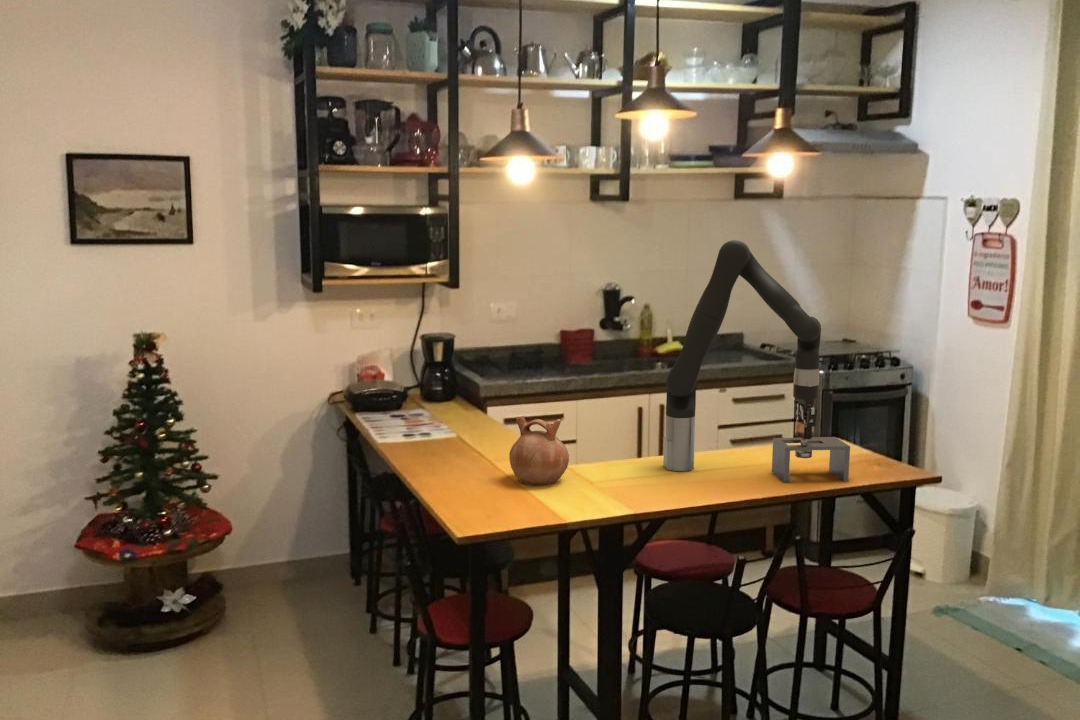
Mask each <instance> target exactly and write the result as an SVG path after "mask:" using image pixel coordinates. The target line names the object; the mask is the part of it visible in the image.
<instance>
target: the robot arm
mask: <svg viewBox="0 0 1080 720" xmlns="http://www.w3.org/2000/svg"><path fill="white" fill-rule="evenodd" d="M714 264H715V265H714V266H713V267H714V268H713V270H712V274H711V276H710V279H709V281H708V283H707V285H706V287H705V289H704V290H703V292H702V294H701V297H700V298H699V301H698V303H697V304H696V307H695V308H694V311H693V314H692V316H691V318H690V320H689V324H688V326H687V330H686V334H685V336H684V337H685V338H684V341H683V345H682V348H681V351H680V353H679V355H678V357H677V359H676V361H675V363H674V365H673V366H672V367H671V368H670V369H669V370H668V372H667V375H666V379H665V380H666V381H665V384H666V401H665V436H664V437H663V467H664V469H666V471H674V472H689V471H692V470H694V469H695V441H696V440H695V439H696V437H695V436H696V431H695V429H696V404H697V380H698V376H699V373H700V370H701V367H702V364H703V361H704V359H705V357H706V355H707V353H708V352H709V349H710V348H711V346H712V345H713V342H714V341H715V339H716V337H717V335H718V333H719V331H720V328H721V326H722V324H723V322H724V319H725V316H726V313H727V309H728V306H729V303H730V297H731V294H732V291H733V288H734V285H735V284H736V281H737V280H738V279H739V276H740V277H741V278H742V279H744V280H745V281H746V282H747V283H748V284H749V285H750V286H751V287H752V288H753V289H754V291H755V292H756V293H757V294H758V296H759V297H760V298H761V299H762V300H763V302H764V303H766V305H767V306H768V307H769V308H770V309H771V310H772V311H773V313H775V314H776V315H777V316H778V317H779V318H780V319H781V320H782V321H784V323H785V324H786V325H787V327H788V328H789V329H790V331H791V332H792V333H793V334H794V335H795V336H796V337H797V340H796V341H797V344H796V345H797V347H796V351H795V358H794V362H795V363H794V373H793V389H792V396H793V398H795V399H794V401H793V402H794V403H793V404H794V405H793V406H794V408H793V409H794V419H795V420H796V421H795V422H797V421H804V439H811V438H812V427H814V428H815V427H816V425H817V424H816V423H817V413H818V408H817V407H815V406H814V405H815V404H814V402H813V401H814V400H818V399H819V397H820V395H819V394H820V371H819V370H820V368H819V367H820V345H821V336H822V335H821V334H822V325H821V323H820V321H819V320H818V319H817V318H816V317H814V316H810V315H809V314H808V313H807V312H806V311H805V310H804V309H803V308H802V307H801V304H800V303H799V301H797V299H796V298H794V297H793V296H792V294H790V293H789V292H788V291H787V290H786V289H785V288H784V287H783V285H781V284H780V283H779V282H778V281H777V280H775V279H774V277H772V276H771V275H770V274H769V273H768V272H767V271H766V270H765V269H764V267H763V266H762V265H761V264H760V263H759V262H758V260H757V259H756V257H755V256H754V254H753V253H752V252H751V250H750V248H749V247H748V245H747V244H746V243H745V242H743V241H740V240H735V239H733V240H728V241H727V242H725V243H724V244H722V245H721V247H720V248H719V250H718V253H717V257H716V261H715V263H714ZM809 422H810V423H809Z"/></svg>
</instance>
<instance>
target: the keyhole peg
mask: <svg viewBox="0 0 1080 720" xmlns="http://www.w3.org/2000/svg"><path fill="white" fill-rule="evenodd" d="M809 423H810V422H809ZM814 435H815V427H812V437H815V436H814ZM794 436H795V437H796V438H801V443H800V445H807V439H804V421H795V422H794ZM794 457H796V458H799V459H811V458H812V457H813V450H802V451H795V452H794Z"/></svg>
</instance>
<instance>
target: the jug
mask: <svg viewBox="0 0 1080 720" xmlns="http://www.w3.org/2000/svg"><path fill="white" fill-rule="evenodd" d="M515 420H516V424H517V426H518V429H519V431H520V432H519V433H520V436H519V437H518V438H517V440H516V441H514V443H513V444H512V446H511V448H510V451H509V456H508V457H509V464H510V468H511V470H512V472H513V473H514V475H515V477H516V478H517V480H518V481H519V482H520V484H523V485H526V486H533V487H544V486H546V487H547V486H551V485H554V484H556V483H558V481H559V480H560V479H561V477H563V476H564V474H565V473H566V470H567V469H568V466H569V461H570V454H569V451H568V449H567V447H566V446H565V444H564V443H563V442H562V441H561V439H559V437H558V436H557V433H558V430H559V428H560V426H561V422H562V421H561V419H559V418H558V419H556V420H554V422H553V423H552V422H546V421H545V420H543V419H540V418H537V419H533V420H530V421H529V422H527V420H526V418H525V416H524V415H521V416H519V417H517V418H516V419H515ZM534 425H535V426H536V425H537V426H540V427H542V428H544V429H545V430H546V431H545V430H532V429H531V426H534Z"/></svg>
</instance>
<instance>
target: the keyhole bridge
mask: <svg viewBox="0 0 1080 720" xmlns="http://www.w3.org/2000/svg"><path fill="white" fill-rule="evenodd" d="M791 444H792V445H791ZM802 450H812V451H829V464H828V465H829V468H828V471H829V472H830V473H832V474H833V475H834V476H835V477H837V478H838V479H839V480H841V481H842V482H849V477H850V476H849V475H850V459H851V458H850V454H851V446H850V445H848V444H847V443H846V442H845V441H843V440H841V439H839V438H838V437H836V436H817V437H815V436H814V437H812V438H811V439H807V445H801V437H773V438H772V452H771V453H772V454H771V455H772V458H771V459H772V461H771V473H772V474H773V475H774V476H775V477H777V478H778V479H779V480H780V481H781V482H782V483H784V484H789V483H790V468H791V467H790V461H791V452H793V451H802Z"/></svg>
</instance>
